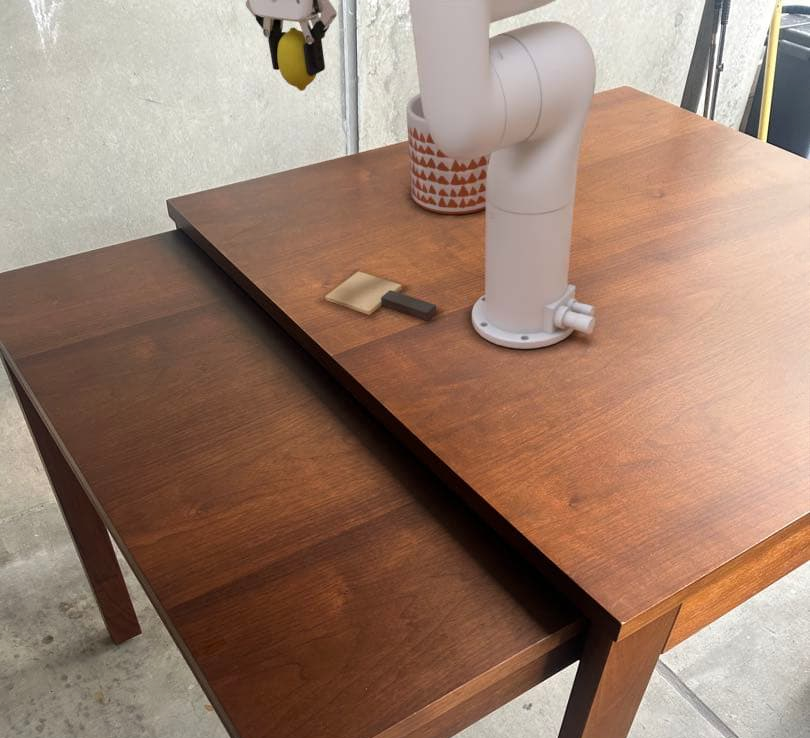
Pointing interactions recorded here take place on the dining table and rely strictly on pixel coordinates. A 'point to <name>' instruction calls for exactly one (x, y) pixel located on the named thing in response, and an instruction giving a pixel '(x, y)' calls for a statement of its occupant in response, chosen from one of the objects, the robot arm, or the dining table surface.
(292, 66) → the lemon
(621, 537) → the dining table surface
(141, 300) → the dining table surface
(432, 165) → the planter
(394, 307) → the spatula
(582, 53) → the robot arm
